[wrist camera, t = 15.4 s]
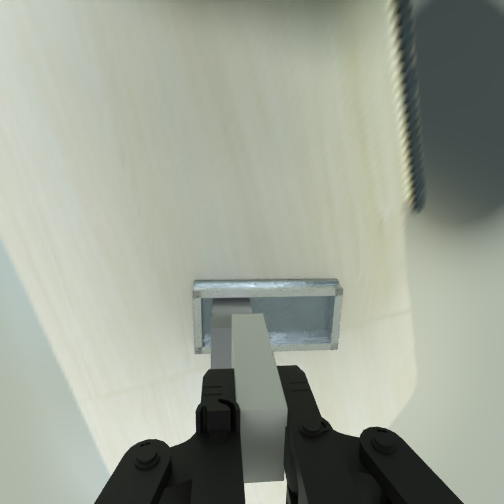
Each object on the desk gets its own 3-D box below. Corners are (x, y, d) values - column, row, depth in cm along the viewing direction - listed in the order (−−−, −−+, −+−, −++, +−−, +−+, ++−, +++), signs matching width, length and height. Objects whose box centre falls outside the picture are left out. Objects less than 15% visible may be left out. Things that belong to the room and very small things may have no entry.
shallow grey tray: (194, 280, 48) (192, 288, 45) (336, 278, 49) (343, 285, 47) (196, 345, 50) (194, 356, 48) (331, 341, 52) (337, 351, 49)
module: (212, 296, 48) (210, 327, 39) (249, 296, 48) (255, 327, 39) (212, 336, 49) (211, 375, 40) (248, 336, 50) (253, 374, 41)
